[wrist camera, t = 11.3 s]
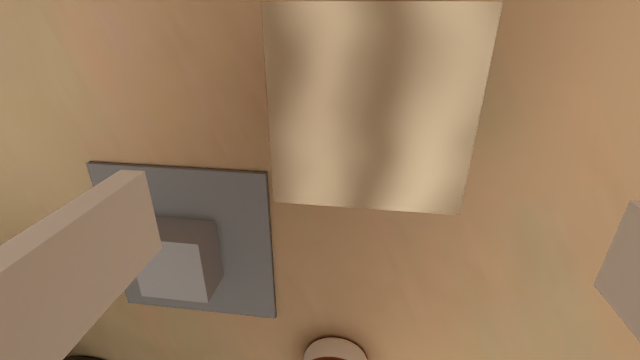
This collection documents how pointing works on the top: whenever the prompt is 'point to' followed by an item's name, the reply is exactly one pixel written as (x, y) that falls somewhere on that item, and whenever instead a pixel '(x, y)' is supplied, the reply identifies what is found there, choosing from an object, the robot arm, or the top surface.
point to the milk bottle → (334, 350)
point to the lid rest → (205, 240)
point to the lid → (375, 100)
